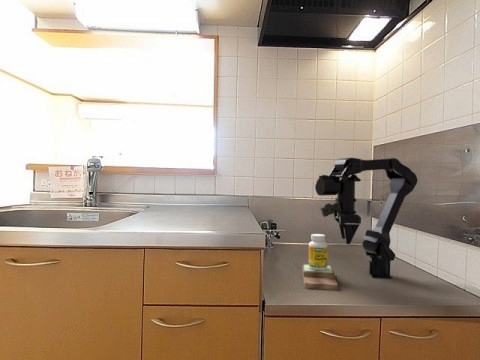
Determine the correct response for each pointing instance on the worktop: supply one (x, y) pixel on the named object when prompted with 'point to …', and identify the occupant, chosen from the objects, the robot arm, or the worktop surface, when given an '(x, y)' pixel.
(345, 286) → the worktop surface
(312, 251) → the supplement bottle
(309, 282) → the step stand
